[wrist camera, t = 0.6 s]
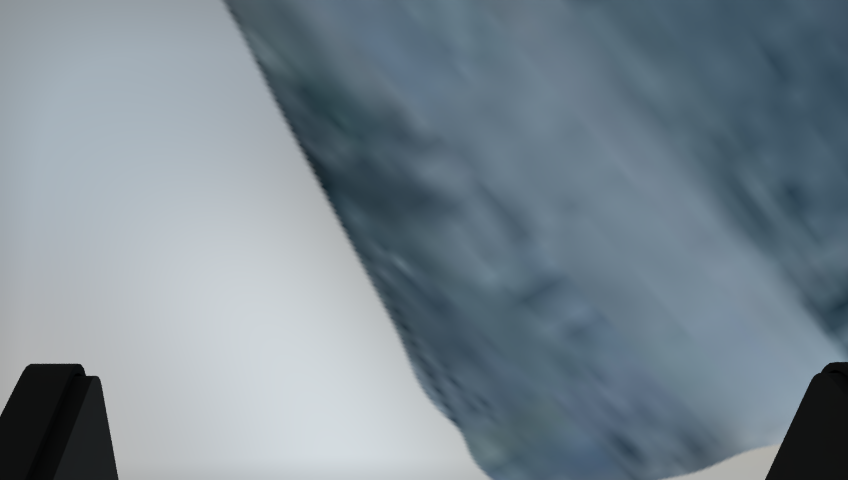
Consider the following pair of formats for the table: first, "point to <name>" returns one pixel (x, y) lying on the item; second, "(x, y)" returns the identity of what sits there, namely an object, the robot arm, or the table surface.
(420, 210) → the table surface
